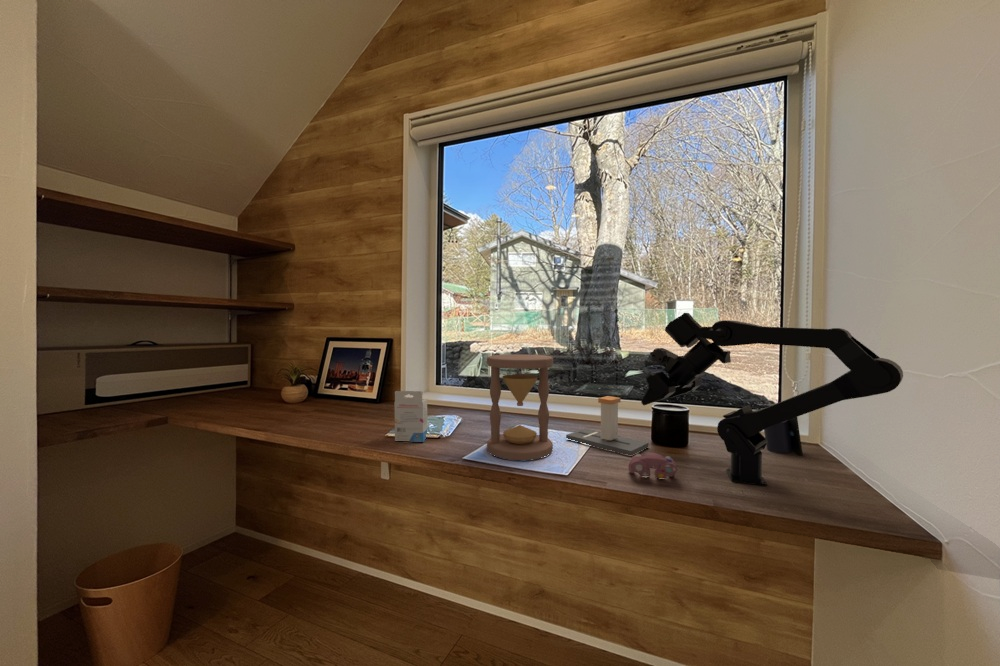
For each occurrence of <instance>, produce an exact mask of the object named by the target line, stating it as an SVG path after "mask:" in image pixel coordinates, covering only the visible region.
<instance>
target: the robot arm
mask: <svg viewBox="0 0 1000 666" xmlns="http://www.w3.org/2000/svg"><path fill="white" fill-rule="evenodd" d="M664 332H665V333H667V335H668V336H669V337H670V338H671V339H673V341H674V342H675V343H676V344H677V345H678V346H679V347H680V348H685V347H686V348H690V349H689V350H688V351H687V352H686V353H685V354H683V355H678V354H676V353H674V352H672V351H671V350H668V349H666V348H664V347H658V348H654V349H653V350H652V351H651V352H650V354H649V355H650V360H651V362H653V363H656V364H658V365H660V366H662V367H664V368H663V369H662V370H663V371H661V370H660V371H659V370H656V371H652V372H649V373H648V374H647V375H646V376H645V380H646V383H647V384H648V388H647V390H646V392H645V394H644V396H643V397H642V399H641V402H640V403H641V404H642V406H646V405H650V404H653V403H655V402H659V401H661V402H663V401H665V400H668V399H671V398H675V397H677V396H682V395H684V394H687V393H690V392H692V391H695V390H697V389H698V388H699V387H700V386H701V383H702V382H701V381H702V380H701V379H700V378H699V377H702V376H704V375H705V374H706V371H707V370H708V369H709V368H711V366H713V365H714V364H715V363H716V362H718V361H719V362H720V363H722V364H729V363H731V351H730V350H724V349H723V348H722V347H732V346H733V347H734V346H743V345H745V346H746V345H754V344H755V345H756V344H762V345H774V346H776V345H777V346H778V345H779V346H791V347H792V346H793V347H804V348H805V347H806V348H807V347H808V348H821V349H822V348H823V349H828V350H829V351H831V352H832V353H833V354H834V355H835V356H836V357H837V359H839V360H840V361H841V362H842V363H843V364H844V366H845V367H846V368H848V369H849V370H848V371H847V372H845V373H843V374H842V375H840V376H839V377H837V378H836V379H834V380H832V381H831V382H827V383H825V384H823V385H820V386H817V387H815V388H812V389H809V390H807V391H805V392H801V393H800V394H797V395H794V396H792V397H790V398H787V399H785V400H782V401H779V402H777V403H774V404H772V405H769V406H765V407H764V408H759V409H754V410H753V408H752V406H751V404H748V405H745V406H743V407H741V408H739V409H737V410H733V411H731V412H727V413H726V414H724V415H722V417H723V419H721V420H720V421H718V422H717V427H716V428H717V429H716V430H717V434H718V436H719V438H720V439H721V440H722V441H723V442H724V446H725V448H726V451H727V452H728V453H730V468H726V469H725V470H726V474H727V475H728V478H729V479H730V481H731V482H734V483H741V484H749V485H755V486H756V485H758V486H766V487H767V486H768V482H767V481H766V479H765V478H764V477H763V476H762V475H763V473H762V472H763V471H762V470H763V452H762V450H764V449H765V448H766V447H767V446H766V444H767V442H768V440H767V439H766V438H765V435H763V434H762V433H761V432H762V431H763V432H764V429H766V428H768V427H770V426H773V425H775V424H778V423H781V422H784V421H787V420H789V419H792V418H795V417H797V418H798V417H800V416H803V415H806V414H808V413H810V412H811V413H812V412H814V411H817V410H819V409H823V408H825V407H828V406H831V405H833V404H836V403H840V402H842V401H846V400H852V399H854V400H855V399H859V398H866V397H871V396H877V395H882V394H886V393H887V394H888V393H890V392H892V391H894V390H895V389H897V388H898V387H899V385H900V384H901V383H902V380H903V378H904V371H903V369H902V368H901V366H900V365H899V364H898V363H896V362H895V361H894V360H891V359H888V358H883V357H880V356H878V355H877V354H876V353H875V352H874V351H872V350H871V349H870V348H868V347H867V346H866V345H865V344H863V343H862V342H861V341H859V340H858V339H856V338H855V337H854V336H853V335H852V333H850V331H848V330H847V329H845V328H841V327H840V328H839V327H837V328H836V327H835V328H834V327H832V328H815V327H814V328H810V327H782V326H764V325H759V324H758V325H757V324H753V323H748V322H743V321H739V320H723V319H722V320H717V321H716V322H714V323H713V324H712V326H702V325H701V324H699V323H698V321H696V319H694V317H693V316H692V315H691V314H690V313H689V312H683V313H682V314H681V315H680V316H677V317H676V318H675V319H673V320H672V321H670V322H669V323H668V324H667V325H666V326H665V327H664ZM710 340H711V341H712V342H711V341H710ZM664 372H665V373H664ZM666 374H667V375H666Z"/></svg>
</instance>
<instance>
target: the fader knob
mask: <svg viewBox="0 0 1000 666" xmlns="http://www.w3.org/2000/svg"><path fill="white" fill-rule="evenodd" d="M621 399H622V398H621V397H618V396H617V397H616V396H611V395H606V396H602V397H598V399H597V400H598V402H597V403H598V404H599V403H600V432H601V439H606V440H610V441H611V440H613V439H616V438H618V436H619V434H618V432H619V420H618V419H619V404H620V403H622V401H621Z"/></svg>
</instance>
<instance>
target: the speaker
mask: <svg viewBox="0 0 1000 666" xmlns="http://www.w3.org/2000/svg"><path fill="white" fill-rule="evenodd" d="M798 420H799V419H798V417H795V418H792V419H789V420H787V421H784V422H781V423H778V424H775V425H773V426H770V427H768V428H766V429H764V430H763V432H764V437H765V438H766V439H767V440H768V442H767V444H766V446H765V447H766V450H767V451H768V452H771V453H776V454H788V453H790V452H792V453H794V454H796V455H797V454H798V456H799V457H804V454H803V447H802V442H801V441H802V439H801V434H800V428H799V421H798Z"/></svg>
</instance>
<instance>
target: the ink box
mask: <svg viewBox="0 0 1000 666" xmlns="http://www.w3.org/2000/svg"><path fill="white" fill-rule="evenodd" d="M408 395H409V396H410V397H409V396H408ZM405 396H406V397H405ZM407 396H408V397H407ZM411 396H413V397H411ZM393 404H394V405H393V406H394V442H395V441H413V442H423V443H424V442H425V441H426V440H427V439H426V434H427V432H428V398H423V392H422V391H421V390H417V391H416V390H395V391H394V403H393ZM425 439H426V440H425Z"/></svg>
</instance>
